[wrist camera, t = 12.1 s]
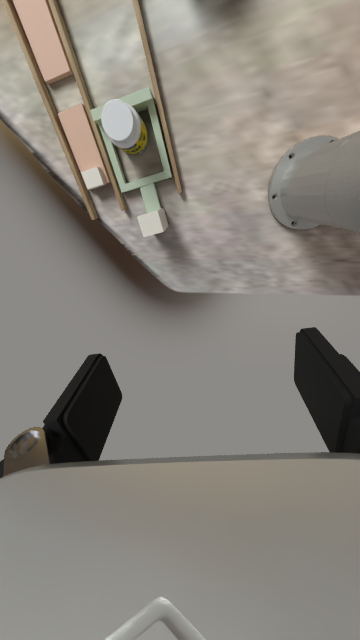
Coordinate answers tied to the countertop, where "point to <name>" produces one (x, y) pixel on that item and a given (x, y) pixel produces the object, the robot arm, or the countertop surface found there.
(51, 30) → the broken strip
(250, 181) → the countertop surface
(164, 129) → the lane rails
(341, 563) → the robot arm
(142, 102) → the green handled square frame
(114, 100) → the supplement bottle
